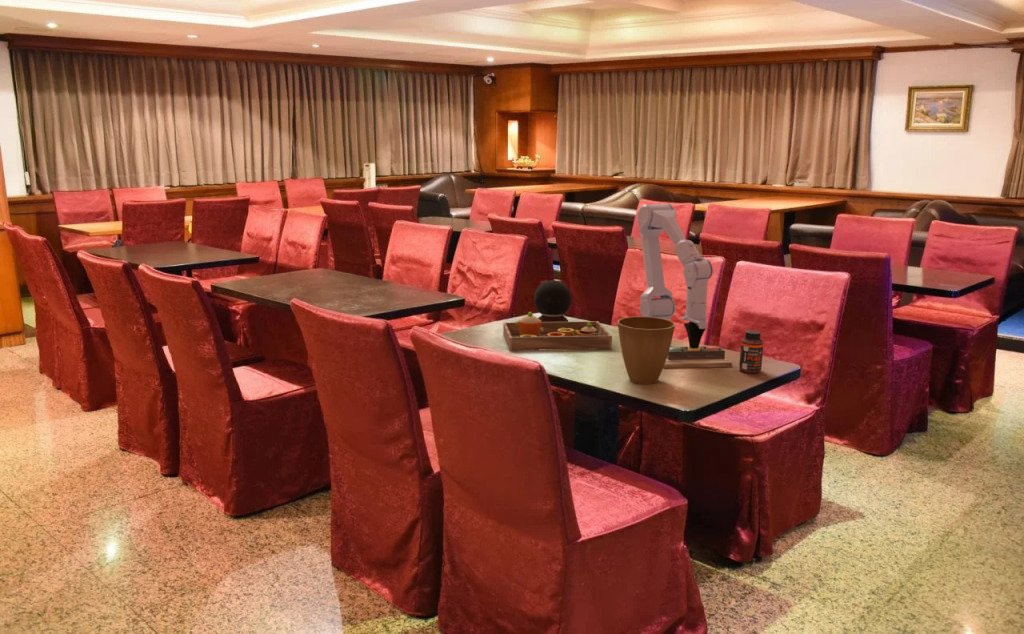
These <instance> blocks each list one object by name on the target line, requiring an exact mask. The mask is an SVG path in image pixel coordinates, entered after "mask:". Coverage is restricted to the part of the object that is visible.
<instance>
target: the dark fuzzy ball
mask: <svg viewBox="0 0 1024 634" xmlns="http://www.w3.org/2000/svg"><path fill="white" fill-rule="evenodd" d="M534 292H535V293H534V295H533V302H534V306H535V308H536V310H537V312H538V313H539V314H540V316H538V317H537V318H538V319H539V320H541V321H542V322H569V320H568V317H566V316H565V314H566V313H567V312H568V311H569V310H570V309H571V308H570V307H571V305H572V299H573V298H572V297H573V296H572V294H571V291H570V288H569V287H568V286H567V285H566V284H565V283H563V282H562V281H560V280H554V279H551V280H546V281H545V282H543V283H541V284H540V285H539V286H538V287H537V288H536V289H535V291H534Z"/></svg>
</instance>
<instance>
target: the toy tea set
mask: <svg viewBox="0 0 1024 634" xmlns="http://www.w3.org/2000/svg"><path fill="white" fill-rule="evenodd" d="M541 325H542V321H541V320H539V319H538V317H537V316H535V315H533V312H532V311H529V312H527V315H525V316H523V317H522V318H521V319H519V320H518V321H516V326H519V330H520V335H519V337H541V334H540V332H543V331H544V329H543V328H542V327H541ZM596 331H597V329H596V328H594V327H592V326H591V323H590V322H588V323H587V326H586V327H583V328H582V329H581V330H579V331H578V330H575V331H574V329H571V328H561V329H558V332H554V333H548V334H546V337H548V336H596V334H595V332H596Z"/></svg>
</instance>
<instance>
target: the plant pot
mask: <svg viewBox="0 0 1024 634" xmlns="http://www.w3.org/2000/svg"><path fill="white" fill-rule="evenodd" d="M675 326H676V324H675V322H673V321H672V320H666V319H662V318H655V317H643V316H642V315H641V316H638V315H637V316H629V317H624V318H623V317H622V318H620V319H618V320H617V328H618V329H617V330H618V338H619V344H620V345H619V346H620V350H621V355H622V358H623V363H624V367H625V370H626V373H627V377H628V378H629V379H628V380H629V381H630V382H632V383H635V384H638V385H652V384H655V383H657V382H658V381H659V379H660V376H661V374H662V371H663V369H664V368H663V367H664V364H665V362H666V359H667V356H668V353H669V349H670V347H671V346H672V341H673V337H674V332H675Z"/></svg>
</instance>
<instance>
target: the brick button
mask: <svg viewBox="0 0 1024 634" xmlns="http://www.w3.org/2000/svg"><path fill="white" fill-rule="evenodd" d="M717 346H718V345H707V346H706V350H707V351H716V350H719V347H720V346H719V347H717Z"/></svg>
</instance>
